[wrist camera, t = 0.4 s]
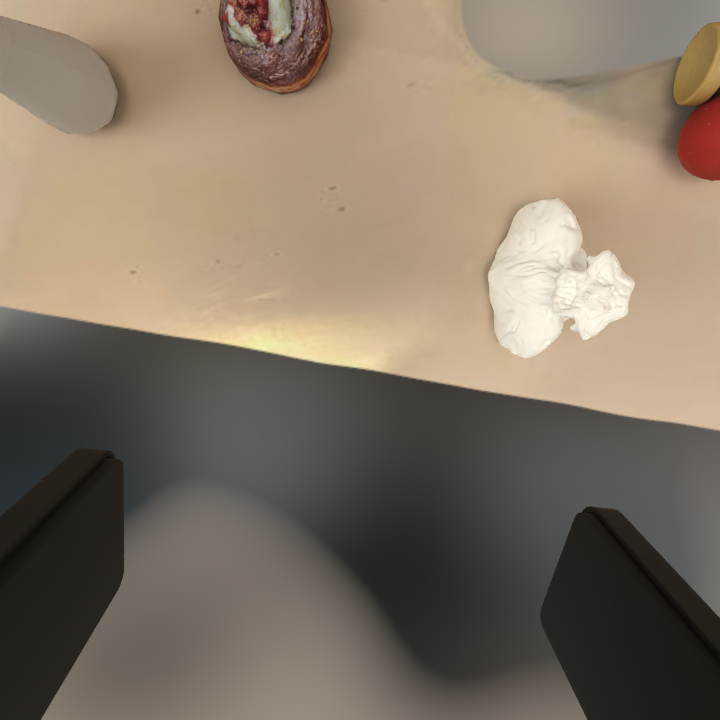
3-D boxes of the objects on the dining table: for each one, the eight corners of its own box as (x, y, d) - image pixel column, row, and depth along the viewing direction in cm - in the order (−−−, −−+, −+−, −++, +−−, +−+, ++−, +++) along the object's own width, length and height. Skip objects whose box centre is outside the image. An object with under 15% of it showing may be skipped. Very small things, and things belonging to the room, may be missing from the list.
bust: (504, 337, 41) (636, 375, 33) (453, 348, 36) (592, 395, 28) (529, 201, 37) (685, 206, 29) (476, 192, 32) (644, 196, 24)
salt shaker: (56, 140, 32) (-119, 95, 20) (36, 48, 31) (-170, -62, 18) (137, 138, 33) (12, 93, 20) (122, 48, 31) (-26, -63, 18)
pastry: (201, -10, 30) (175, -52, 25) (303, -59, 29) (296, -112, 25) (254, 113, 32) (239, 96, 28) (348, 70, 32) (350, 45, 27)
